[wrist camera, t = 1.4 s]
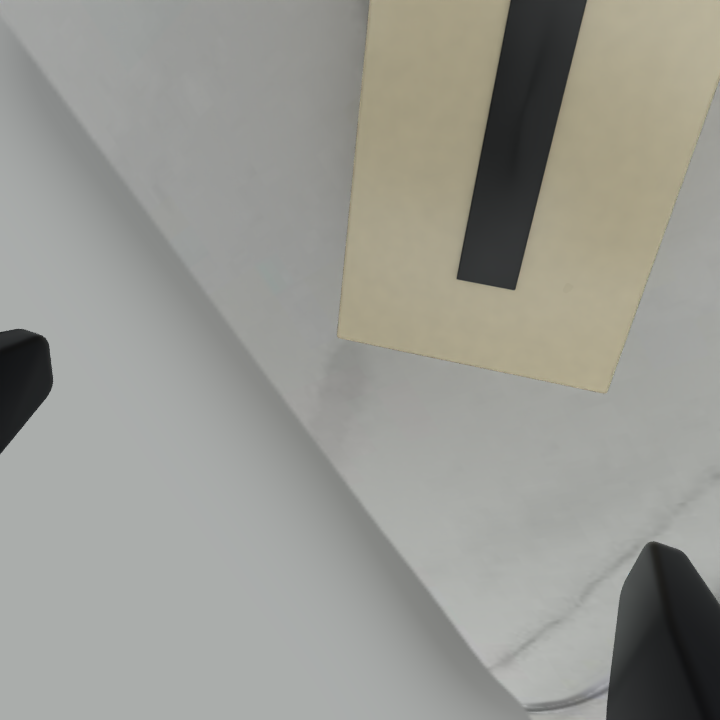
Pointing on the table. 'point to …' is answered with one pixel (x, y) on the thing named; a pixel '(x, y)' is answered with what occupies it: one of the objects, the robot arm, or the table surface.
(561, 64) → the toaster
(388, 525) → the table surface
